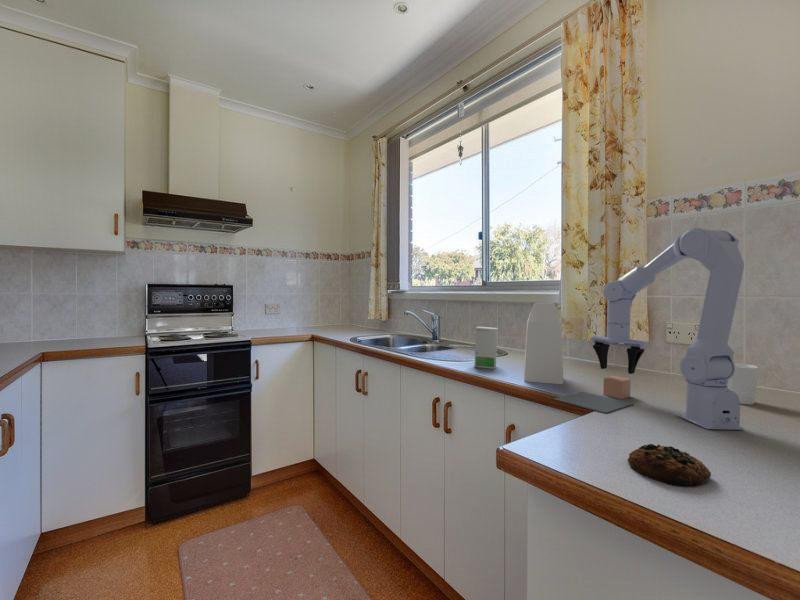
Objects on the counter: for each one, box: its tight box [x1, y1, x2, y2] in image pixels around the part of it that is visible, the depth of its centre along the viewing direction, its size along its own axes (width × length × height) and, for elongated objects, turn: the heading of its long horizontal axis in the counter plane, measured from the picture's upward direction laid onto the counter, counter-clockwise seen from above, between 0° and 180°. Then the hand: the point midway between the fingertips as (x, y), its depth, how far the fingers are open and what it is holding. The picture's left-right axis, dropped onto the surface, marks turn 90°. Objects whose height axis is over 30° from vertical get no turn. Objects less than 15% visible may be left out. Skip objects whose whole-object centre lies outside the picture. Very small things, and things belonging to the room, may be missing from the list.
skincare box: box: [473, 326, 499, 370], centre depth 149 cm, size 8×7×16 cm
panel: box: [553, 391, 634, 415], centre depth 102 cm, size 14×14×1 cm
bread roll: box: [627, 443, 712, 488], centre depth 62 cm, size 11×11×5 cm
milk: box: [523, 302, 564, 385], centre depth 129 cm, size 12×12×26 cm
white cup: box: [727, 362, 759, 405], centre depth 105 cm, size 8×8×10 cm
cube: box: [603, 375, 631, 400], centre depth 109 cm, size 5×5×5 cm
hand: (617, 370), depth 109 cm, fingers open, 7 cm apart
